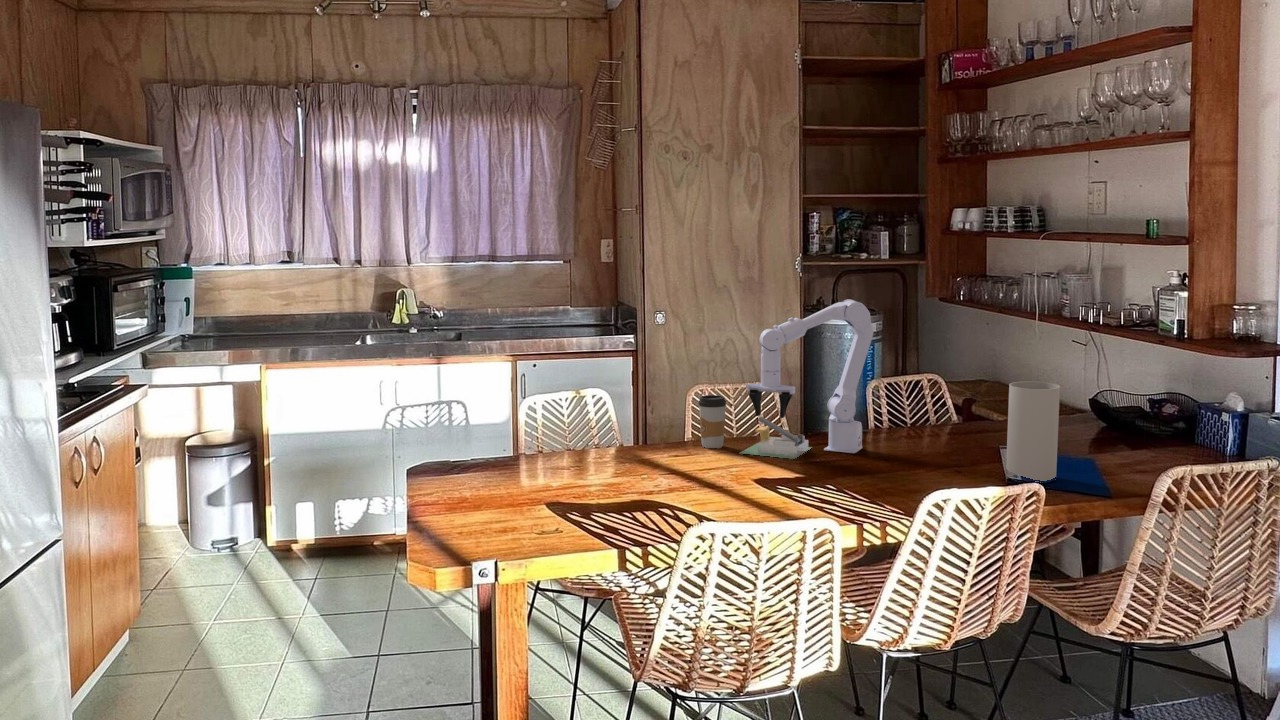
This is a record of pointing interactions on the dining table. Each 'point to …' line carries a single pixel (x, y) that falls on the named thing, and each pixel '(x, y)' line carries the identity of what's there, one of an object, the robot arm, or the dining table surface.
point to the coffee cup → (712, 420)
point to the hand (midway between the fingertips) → (770, 416)
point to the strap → (778, 428)
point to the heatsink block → (783, 446)
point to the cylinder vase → (1033, 429)
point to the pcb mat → (754, 451)
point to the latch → (763, 432)
